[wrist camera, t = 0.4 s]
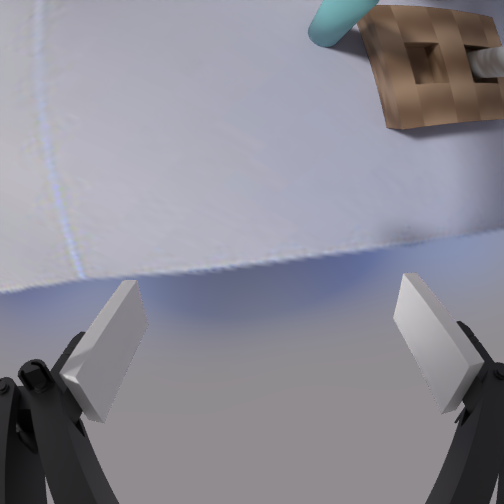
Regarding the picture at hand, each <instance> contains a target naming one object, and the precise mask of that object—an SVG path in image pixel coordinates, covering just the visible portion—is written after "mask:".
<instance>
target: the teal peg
mask: <svg viewBox="0 0 504 504" xmlns="http://www.w3.org/2000/svg"><path fill="white" fill-rule="evenodd" d="M378 2H379V0H323V2H322V4H321V6H320V8H319V10H318V11H317V13H316V15H315V17H314V19H313V21H312V23H311V25H310V27H309V29H308V34H309V37H310V39H311V40H312V41H313V42H314V43H315V44H316V45H318V46H321V47H331V46H333V45H335V44H336V43H337V42H338V41H339V40H340V39H341V38H342V37H343V36H344V35H345V34H346V33H347V32H348V31H349V30H350V29H351V28H352V27H353V26H354V25H355V24H356V23H357V22H358V21H359V20H360V19H361V18H362V17H363V16H365V15H366V14H367V13H368V12H369V11H370V10H371V9H372V8H373V7H374V6H375V5H376V4H377V3H378Z"/></svg>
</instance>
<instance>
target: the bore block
mask: <svg viewBox="0 0 504 504" xmlns="http://www.w3.org/2000/svg"><path fill="white" fill-rule="evenodd" d="M357 25H358V28H359V30H360V33H361V36H362V39H363V42H364V45H365V48H366V51H367V54H368V57H369V61H370V64H371V67H372V71H373V74H374V78H375V81H376V85H377V89H378V92H379V96H380V100H381V104H382V109H383V113H384V117H385V122H386V126H387V128H394V129H409V128H416V127H424V126H432V125H440V124H449V123H459V122H470V121H482V120H498V119H504V46H502V45H501V42H500V39H499V36H498V33H497V30H496V27H495V24H494V21H493V19H492V17H489V16H484V15H479V14H474V13H469V12H463V11H456V10H449V9H441V8H432V7H421V6H403V5H375V6H374V7H373V8H372V9H371V10H370V11H369V12H368V13H367V14H366V15H365V16H363V17H362V18H361V19H360V20H359V21H358V22H357Z"/></svg>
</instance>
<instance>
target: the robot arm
mask: <svg viewBox="0 0 504 504" xmlns="http://www.w3.org/2000/svg"><path fill="white" fill-rule="evenodd" d="M393 319H394V321H395V323H396V324H397V326H398V328H399V330H400V331H401V333H402V335H403V337H404V339H405V341H406V343H407V345H408V346H409V348H410V350H411V352H412V354H413V356H414V358H415V360H416V362H417V364H418V366H419V368H420V370H421V372H422V374H423V376H424V378H425V380H426V382H427V384H428V386H429V388H430V390H431V393H432V395H433V397H434V399H435V401H436V403H437V405H438V407H439V410H440V412H441V414H443V413H447V412H450V411H453V410H456V409H457V407H458V406H459V404H460V403H461V401H463V403H464V404H465V407H464V409H463V410H462V412H461V413H460V415H459V416H458V417H457V419H456V421H455V423H457V422H458V420H459V419H460V420H459V423H458V426H457V429H456V432H455V435H454V438H453V441H452V444H451V446H450V449H449V452H448V454H447V457H446V459H445V462H444V464H443V467H442V469H441V471H440V474H439V476H438V478H437V480H436V483H435V485H434V487H433V489H432V491H431V493H430V495H429V497H428V499H427V501H426V503H425V504H489V503H490V500H491V497H492V494H493V491H494V488H495V484H496V481H497V477H498V474H499V481H498V491H497V501H496V504H504V364H503V363H498V362H497V363H495V362H494V361H493V360H492V358H491V357H490V356H489V354H488V353H487V351H486V350H485V348H484V347H483V346H482V344H481V343H480V342H479V340H478V339H477V338H476V336H474V333H473V332H472V331H471V330H470V328H469V327H468V326H466V325H465V324H464V323H462V322H461V321H457V322H456V321H455V320H454V319H453V317H452V316H451V315H450V313H449V312H448V311H447V310H446V309H445V307H444V306H443V304H442V303H441V302H440V301H439V299H438V298H437V297H436V296H435V295H434V293H433V292H432V291H431V290H430V289H429V287H428V286H427V285H426V284H425V283H424V281H423V280H422V279H421V278H420V277H419V275H418V274H417V273H404V274H403V278H402V283H401V288H400V292H399V296H398V301H397V305H396V309H395V313H394V317H393ZM147 327H148V321H147V317H146V314H145V310H144V307H143V303H142V298H141V294H140V291H139V287H138V282H137V280H123V282H122V283H121V284H120V286H119V287H118V288H117V290H116V291H115V292H114V294H113V295H112V296H111V298H110V299H109V300H108V302H107V303H106V305H105V306H104V307H103V309H102V310H101V312H100V313H99V314H98V316H97V317H96V319H95V320H94V321H93V323H92V324H91V326H90V327H89V329H88V330H87V332H80V333H79V334H77V335H76V336H75V337H74V338H73V339H72V340H71V342H70V343H69V344H68V347H67V348H66V349H65V350H64V352H63V354H62V355H61V356H60V358H59V359H58V361H57V362H56V364H55V365H54V367H53V368H52V370H51V371H49V369H48V368H47V367H46V364H45V363H44V362H43V361H42V360H39V359H34V360H30V361H28V362H26V363H25V364H24V365H23V366H22V367H21V368H20V370H19V371H18V377H19V379H20V380H21V382H22V383H23V385H24V386H17V385H16V384H15V382H14V381H13V379H11V378H9V377H4V378H1V379H0V504H47V497H46V485H45V476H46V479H47V483H48V486H49V489H50V492H51V495H52V497H53V500H54V503H55V504H119V502H118V501H117V499H116V497H115V495H114V493H113V491H112V489H111V487H110V485H109V483H108V481H107V479H106V477H105V475H104V473H103V471H102V469H101V466H100V464H99V462H98V460H97V457H96V455H95V453H94V450H93V448H92V445H91V443H90V440H89V438H88V435H87V433H86V430H85V427H84V425H83V422H82V420H81V419H80V416H81V414H82V411H83V412H84V414H85V415H86V416H87V418H88V419H89V420H92V421H96V422H101V423H104V422H105V420H106V418H107V415H108V413H109V410H110V408H111V406H112V403H113V401H114V399H115V396H116V394H117V392H118V390H119V387H120V385H121V383H122V380H123V378H124V376H125V374H126V372H127V369H128V367H129V365H130V363H131V361H132V359H133V356H134V354H135V352H136V350H137V348H138V346H139V344H140V341H141V339H142V337H143V335H144V333H145V331H146V329H147Z"/></svg>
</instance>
